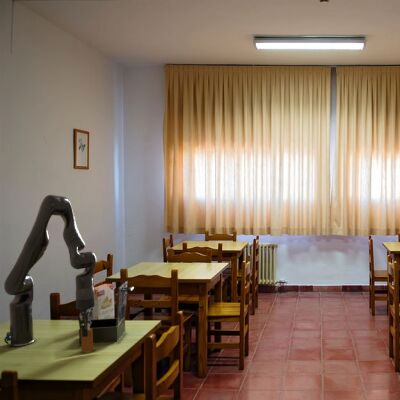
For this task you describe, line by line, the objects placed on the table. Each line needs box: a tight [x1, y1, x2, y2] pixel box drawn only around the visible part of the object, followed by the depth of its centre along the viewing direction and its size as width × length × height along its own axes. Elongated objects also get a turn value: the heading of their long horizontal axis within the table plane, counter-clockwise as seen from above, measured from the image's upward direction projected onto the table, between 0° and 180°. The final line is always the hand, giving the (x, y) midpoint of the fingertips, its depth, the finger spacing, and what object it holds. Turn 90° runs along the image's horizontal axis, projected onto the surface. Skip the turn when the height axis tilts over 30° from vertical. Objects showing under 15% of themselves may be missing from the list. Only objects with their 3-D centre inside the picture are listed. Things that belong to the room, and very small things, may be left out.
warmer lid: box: [115, 280, 135, 326], centre depth 241 cm, size 18×16×5 cm
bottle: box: [81, 323, 94, 353], centre depth 223 cm, size 5×5×12 cm
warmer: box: [78, 317, 126, 345], centre depth 240 cm, size 17×16×8 cm
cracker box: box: [92, 283, 115, 320], centre depth 262 cm, size 14×6×21 cm, turn 168°
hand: (86, 334), depth 223 cm, fingers closed on bottle, 4 cm apart
